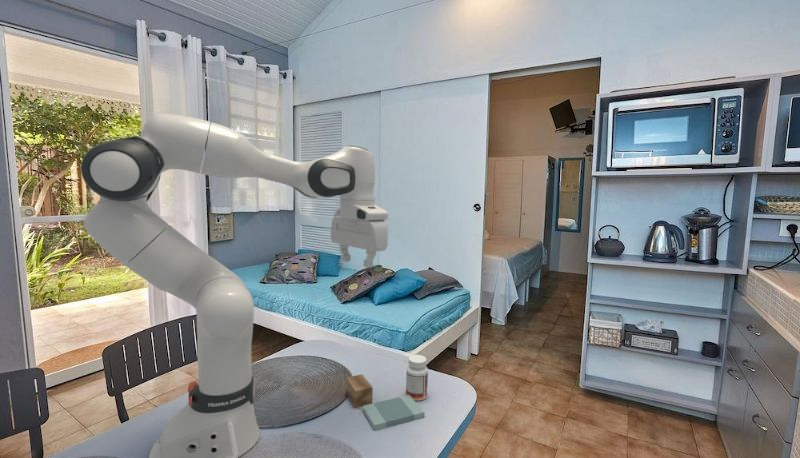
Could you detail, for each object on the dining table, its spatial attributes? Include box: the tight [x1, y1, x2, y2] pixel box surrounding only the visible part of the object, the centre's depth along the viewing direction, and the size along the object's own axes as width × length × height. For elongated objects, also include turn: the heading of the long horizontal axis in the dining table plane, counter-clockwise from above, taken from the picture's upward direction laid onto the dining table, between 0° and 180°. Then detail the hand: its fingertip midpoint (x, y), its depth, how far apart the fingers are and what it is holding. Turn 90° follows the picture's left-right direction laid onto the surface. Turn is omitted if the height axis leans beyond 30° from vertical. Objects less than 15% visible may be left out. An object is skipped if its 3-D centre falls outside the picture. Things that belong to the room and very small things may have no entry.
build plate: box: [362, 394, 425, 431], centre depth 99 cm, size 14×9×1 cm, turn 115°
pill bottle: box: [405, 354, 429, 402], centre depth 107 cm, size 6×6×11 cm
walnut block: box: [345, 373, 374, 409], centre depth 105 cm, size 5×8×5 cm, turn 26°
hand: (356, 264), depth 97 cm, fingers open, 8 cm apart
